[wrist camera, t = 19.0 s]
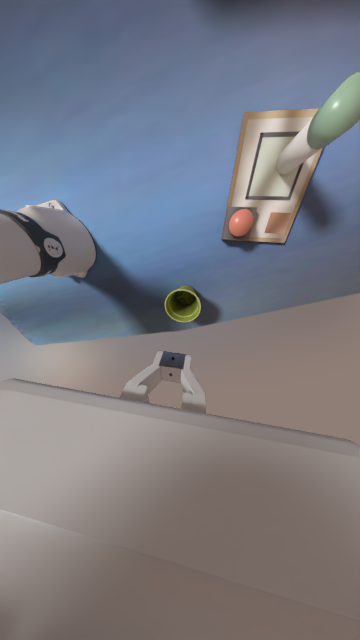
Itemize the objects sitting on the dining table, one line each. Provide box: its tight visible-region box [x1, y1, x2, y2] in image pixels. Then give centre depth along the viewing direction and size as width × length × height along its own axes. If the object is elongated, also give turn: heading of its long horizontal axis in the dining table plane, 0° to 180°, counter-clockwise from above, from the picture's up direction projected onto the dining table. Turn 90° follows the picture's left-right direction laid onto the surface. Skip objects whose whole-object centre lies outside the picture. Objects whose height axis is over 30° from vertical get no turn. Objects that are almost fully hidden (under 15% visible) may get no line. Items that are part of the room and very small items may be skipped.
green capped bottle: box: [276, 72, 360, 175], centre depth 19 cm, size 4×4×12 cm
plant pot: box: [165, 285, 201, 322], centre depth 37 cm, size 9×9×9 cm
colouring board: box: [221, 109, 323, 243], centre depth 26 cm, size 14×18×2 cm
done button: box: [228, 209, 253, 236], centre depth 27 cm, size 4×4×2 cm
